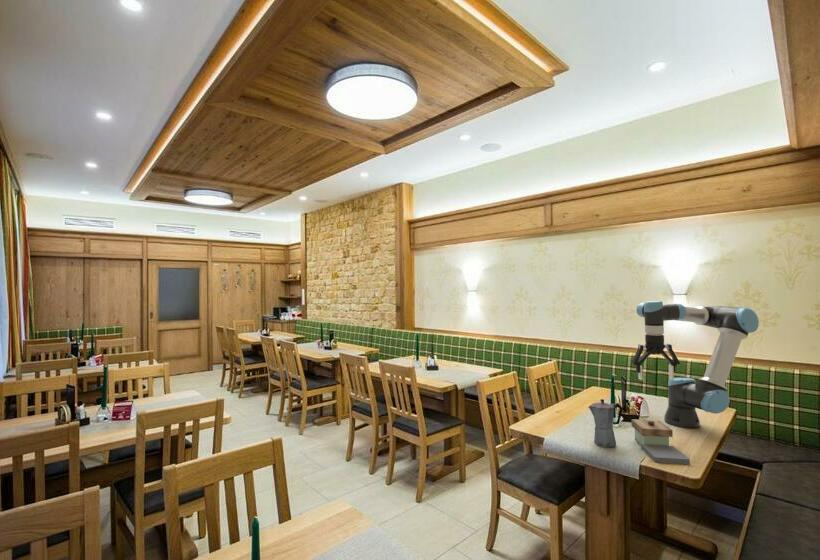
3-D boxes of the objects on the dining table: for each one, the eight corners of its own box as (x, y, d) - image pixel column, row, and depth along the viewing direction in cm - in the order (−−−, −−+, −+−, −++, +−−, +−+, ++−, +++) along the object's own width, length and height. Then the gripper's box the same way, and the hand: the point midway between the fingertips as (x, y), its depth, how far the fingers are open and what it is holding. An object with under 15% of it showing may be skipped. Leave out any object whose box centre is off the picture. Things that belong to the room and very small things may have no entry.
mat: (673, 450, 172) (673, 446, 172) (689, 464, 159) (689, 459, 159) (641, 448, 174) (641, 444, 174) (654, 462, 161) (654, 457, 161)
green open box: (658, 440, 183) (658, 427, 183) (669, 450, 173) (669, 436, 173) (634, 439, 184) (634, 426, 184) (644, 448, 174) (644, 434, 174)
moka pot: (583, 440, 184) (583, 396, 184) (615, 439, 185) (615, 395, 185) (594, 448, 174) (594, 402, 174) (628, 447, 175) (628, 401, 176)
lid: (659, 427, 184) (659, 417, 184) (672, 437, 172) (672, 426, 172) (631, 425, 185) (631, 416, 185) (642, 435, 174) (642, 425, 174)
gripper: (678, 332, 189) (680, 377, 189) (622, 333, 192) (624, 377, 192) (687, 334, 182) (689, 381, 182) (629, 335, 184) (631, 381, 184)
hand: (656, 379), depth 187 cm, fingers open, 13 cm apart
